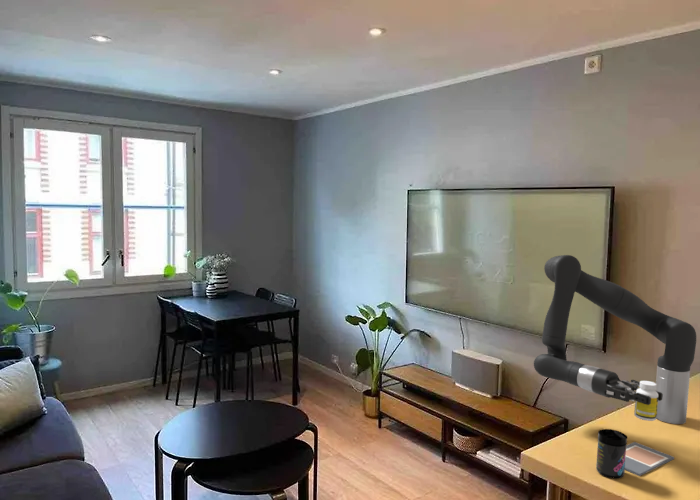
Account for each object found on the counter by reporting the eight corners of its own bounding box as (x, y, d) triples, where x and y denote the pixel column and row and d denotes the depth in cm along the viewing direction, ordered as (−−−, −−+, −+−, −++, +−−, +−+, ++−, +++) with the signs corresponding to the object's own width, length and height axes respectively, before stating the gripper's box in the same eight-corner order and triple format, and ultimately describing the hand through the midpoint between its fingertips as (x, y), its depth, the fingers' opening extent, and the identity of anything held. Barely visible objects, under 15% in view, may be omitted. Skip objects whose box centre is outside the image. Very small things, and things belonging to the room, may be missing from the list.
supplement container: (610, 481, 134) (613, 441, 133) (589, 468, 141) (592, 430, 140) (630, 477, 137) (633, 438, 136) (609, 465, 143) (612, 427, 142)
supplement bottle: (659, 422, 143) (662, 387, 142) (637, 420, 144) (640, 385, 143) (652, 414, 149) (655, 380, 148) (631, 412, 150) (634, 378, 149)
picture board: (634, 443, 156) (634, 441, 156) (674, 459, 147) (674, 456, 147) (599, 458, 146) (599, 456, 146) (639, 476, 137) (639, 473, 137)
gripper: (584, 372, 154) (643, 390, 140) (612, 364, 162) (670, 381, 148) (582, 397, 154) (641, 417, 140) (610, 388, 162) (668, 407, 148)
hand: (655, 399), depth 144 cm, fingers closed on supplement bottle, 5 cm apart
